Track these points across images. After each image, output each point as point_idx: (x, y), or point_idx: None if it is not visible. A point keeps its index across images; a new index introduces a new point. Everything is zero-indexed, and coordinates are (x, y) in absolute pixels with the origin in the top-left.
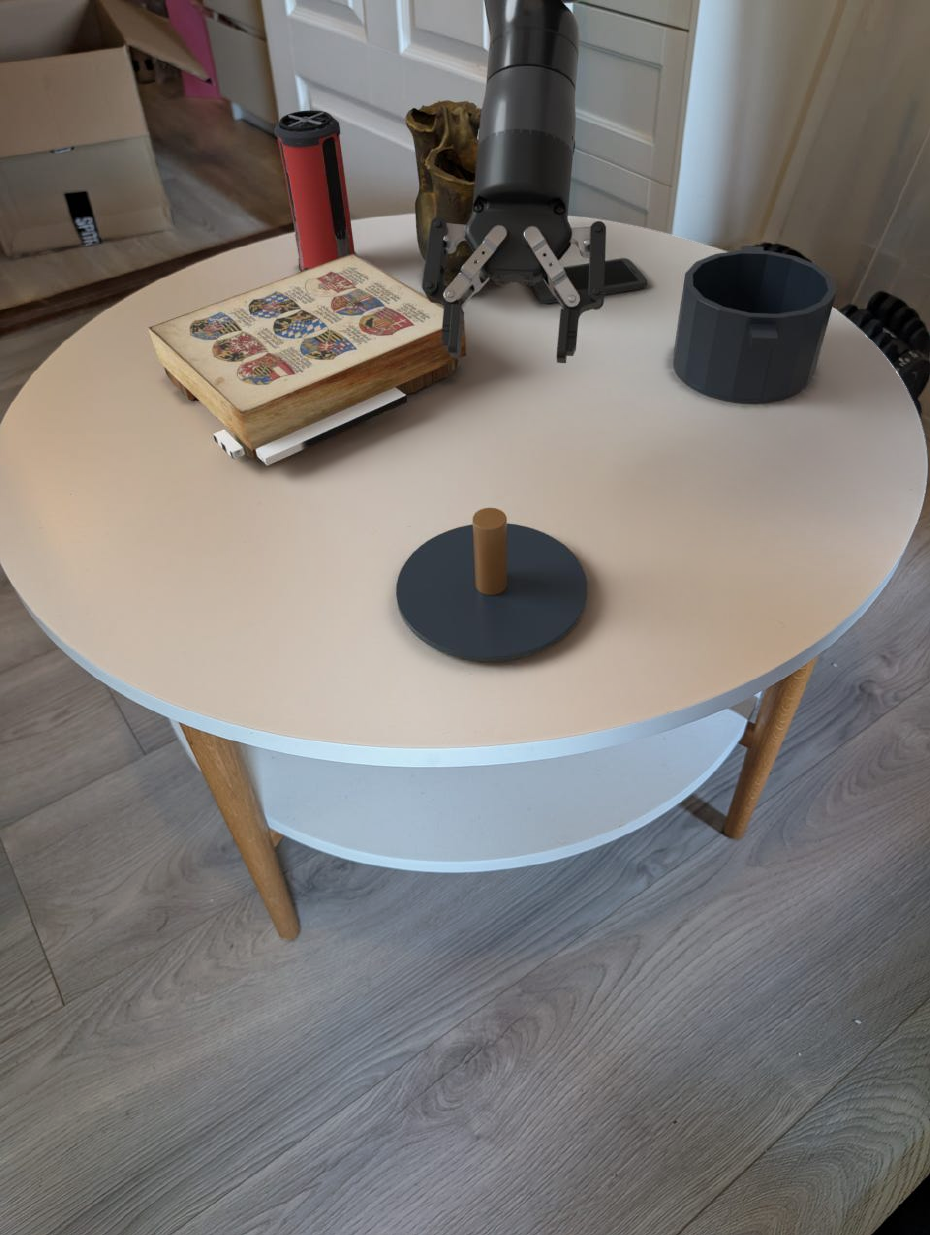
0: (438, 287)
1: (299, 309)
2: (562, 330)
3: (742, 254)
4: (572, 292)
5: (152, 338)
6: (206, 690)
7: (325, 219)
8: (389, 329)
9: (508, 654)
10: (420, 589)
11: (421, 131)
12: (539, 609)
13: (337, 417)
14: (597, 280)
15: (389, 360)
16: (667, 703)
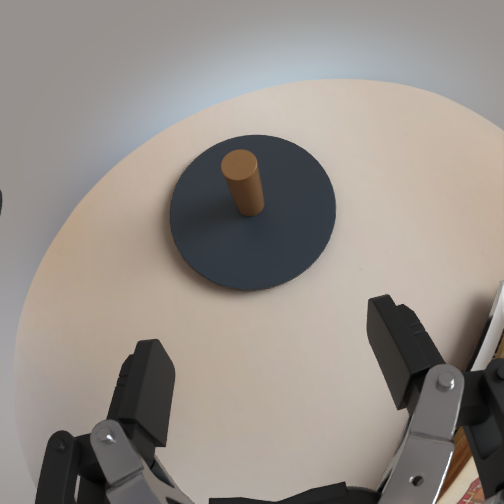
0: (480, 392)
1: None
2: (136, 377)
3: None
4: (103, 449)
5: None
6: (390, 90)
7: None
8: (474, 488)
9: (215, 145)
10: (307, 179)
11: None
12: (203, 191)
13: (482, 368)
14: (53, 466)
15: (464, 454)
16: (118, 164)
